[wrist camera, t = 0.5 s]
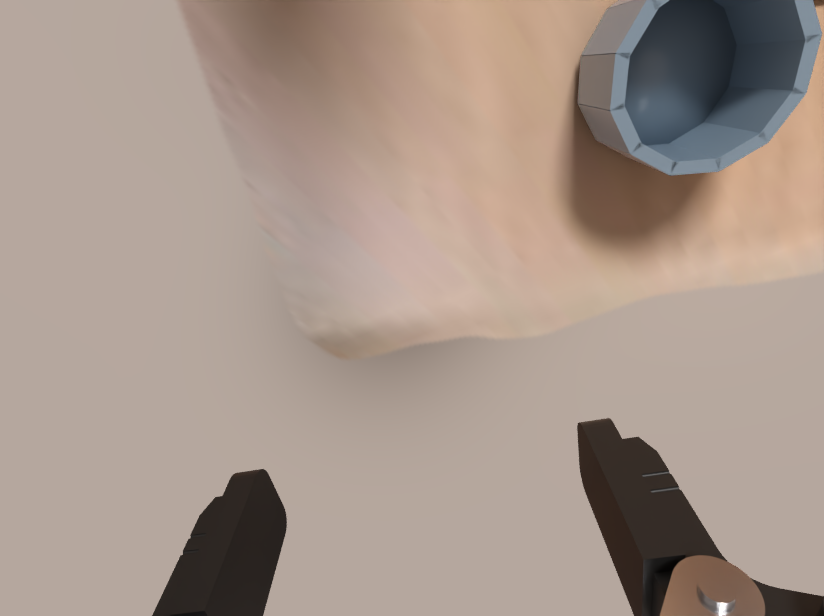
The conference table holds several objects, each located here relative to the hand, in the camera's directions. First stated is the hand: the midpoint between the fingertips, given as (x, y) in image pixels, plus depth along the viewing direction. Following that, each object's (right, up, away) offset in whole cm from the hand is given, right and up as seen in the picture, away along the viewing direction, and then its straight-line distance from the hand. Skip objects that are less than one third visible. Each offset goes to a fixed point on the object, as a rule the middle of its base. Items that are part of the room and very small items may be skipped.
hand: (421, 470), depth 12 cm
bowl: (+17, +20, +21) cm, 34 cm away
